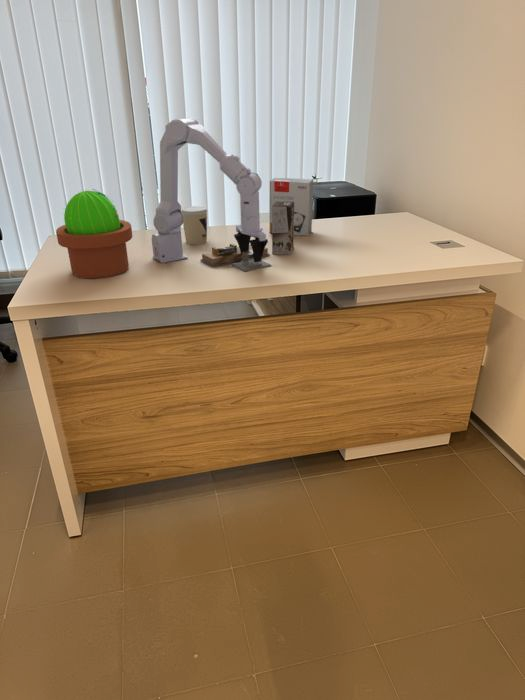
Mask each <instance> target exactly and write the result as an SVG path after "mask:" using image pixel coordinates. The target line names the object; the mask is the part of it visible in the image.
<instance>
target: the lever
mask: <svg viewBox="0 0 525 700" xmlns="http://www.w3.org/2000/svg"><path fill="white" fill-rule="evenodd" d="M218 249H219V253H227V252H233V251H237V249H236V247H231V246H230V245H229V246H225V247H219V248H218Z"/></svg>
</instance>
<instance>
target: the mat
mask: <svg viewBox="0 0 525 700" xmlns="http://www.w3.org/2000/svg"><path fill="white" fill-rule="evenodd" d="M231 266H232V267H234V268H236V269H238V270H240V271H242V272H245V273H246V272H250V271H256V270H259V269H264V268H268V267H272V264H270V263H268V262H266V261H263V260H262V265H257V266H253V267H247V266H245V265H243V264H242V261H240V262H235V263H231Z"/></svg>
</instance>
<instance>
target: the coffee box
mask: <svg viewBox="0 0 525 700" xmlns="http://www.w3.org/2000/svg"><path fill="white" fill-rule="evenodd" d="M271 234H272V235H271V236H272V237H271V254H273V255H274V254H275V255H287V256H289V255H291V253H292V251H293V249H294V246H295V245H294V240H295V238H294V237H295V235H294V202H290V201H283V202H276V203H275V204H274V205H273V206H272V233H271Z"/></svg>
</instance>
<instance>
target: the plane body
mask: <svg viewBox="0 0 525 700" xmlns="http://www.w3.org/2000/svg"><path fill="white" fill-rule="evenodd" d="M237 245H238V244H235V243H229V247H230V246H231V247H236V249H237V251H233V252H227V253H219V248H218V247H216V246H212V247H211V251H209V252H205V253H201V257H202V258H201V259H200V262H201V263H203V264H205V265H207V266H209V267H211V268H214V267H220V266H225V265H229V264H235V263H240V262H242V255H241V252H240V248H239V246H237ZM249 250H252V247H251V244H249ZM268 251H269V249H268V247H266V246H265V248H264V251H263V255H262V258H263V257H268V256H269V257H270V253H269V252H268Z"/></svg>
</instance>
